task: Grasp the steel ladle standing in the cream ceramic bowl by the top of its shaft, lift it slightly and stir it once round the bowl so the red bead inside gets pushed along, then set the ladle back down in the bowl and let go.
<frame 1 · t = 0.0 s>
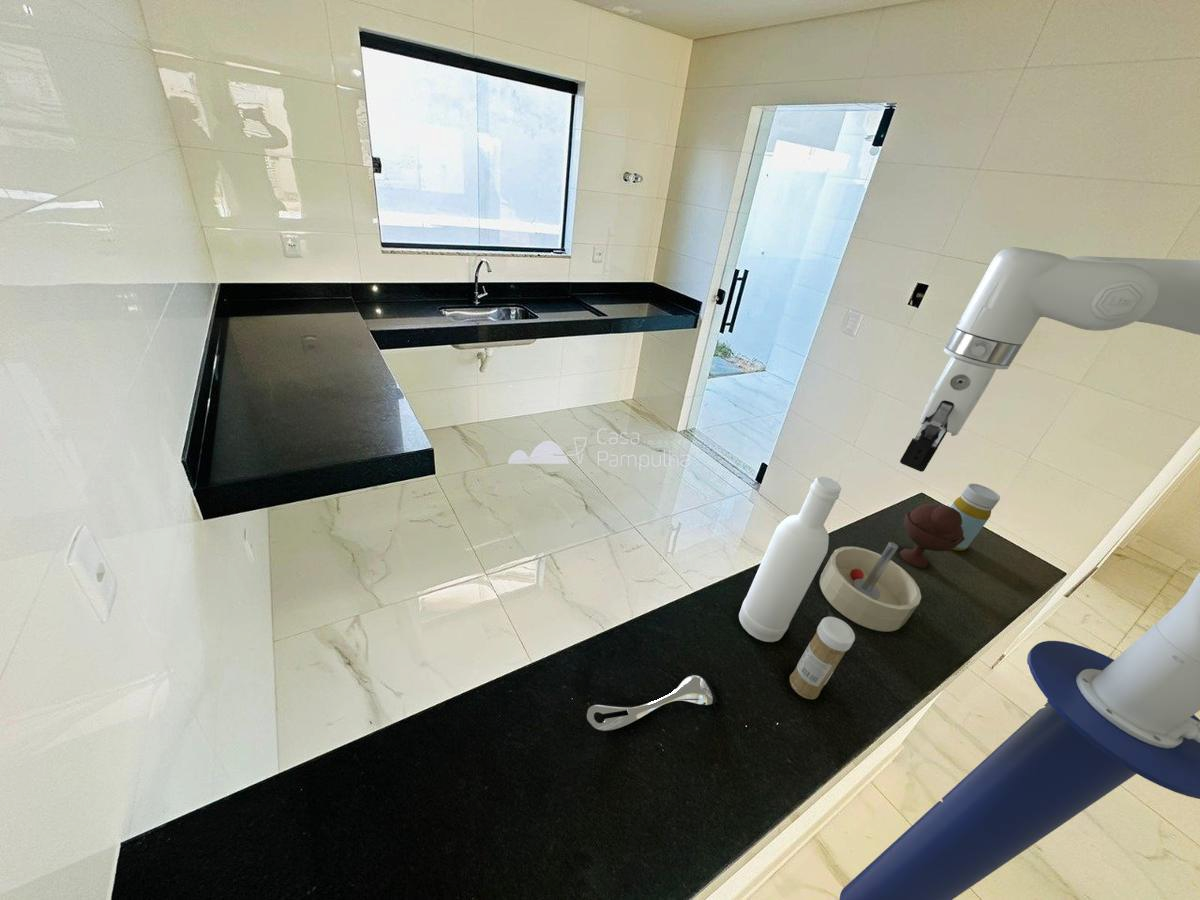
hand: (917, 456, 70), 33 cm above the countertop, tool pointing down, fingers open, 9 cm apart
mixing bowl: (861, 597, 89), on the countertop
bottle: (948, 542, 110), on the countertop
bottle 2: (760, 624, 80), on the countertop
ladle: (862, 595, 89), point 1 cm above the countertop, touching mixing bowl
ice cream scoop: (651, 709, 64), on the countertop
ice cream bowl: (912, 559, 103), on the countertop
bead: (857, 574, 92), point 2 cm above the countertop, touching mixing bowl
sprinkles bottle: (802, 686, 71), on the countertop
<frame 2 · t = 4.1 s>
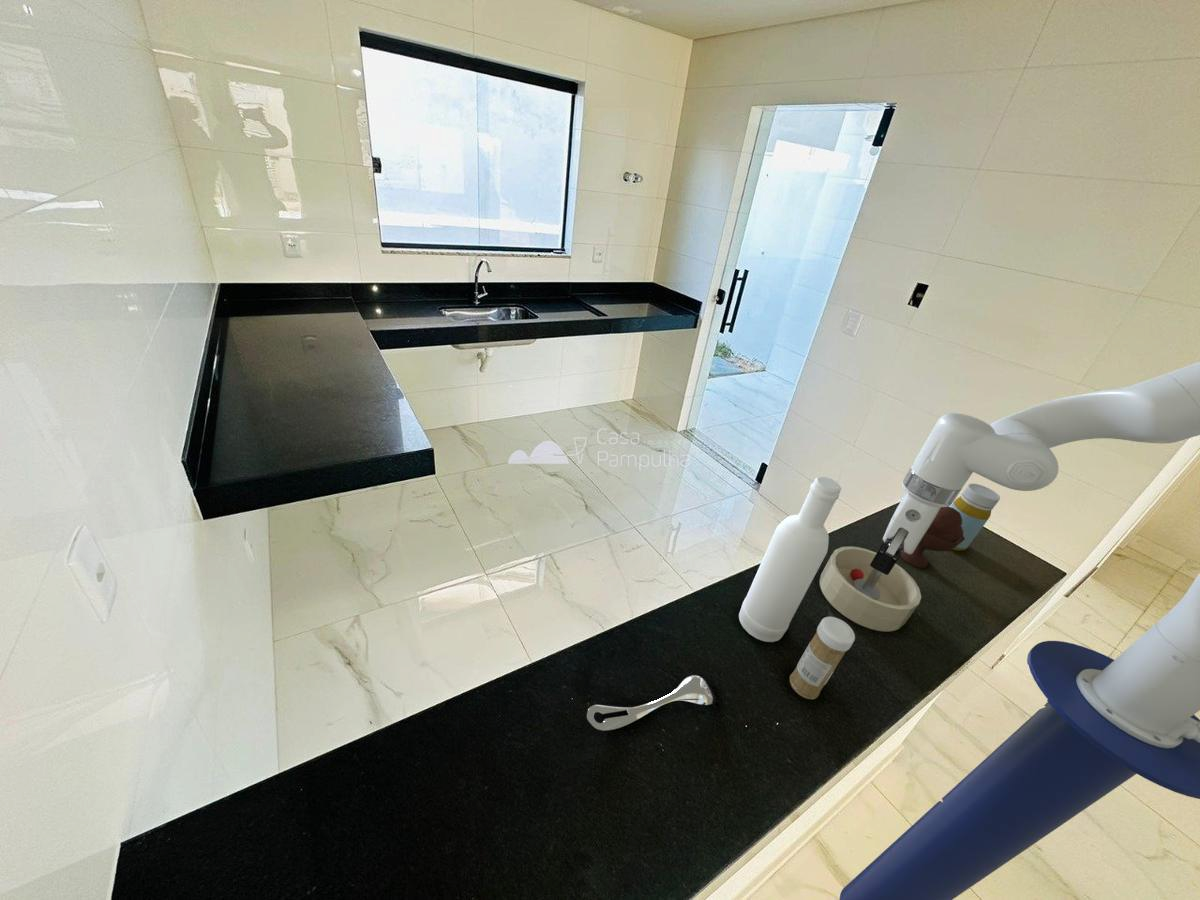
hand: (880, 566, 85), 8 cm above the countertop, tool pointing down, fingers closed on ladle
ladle: (862, 595, 89), point 1 cm above the countertop, touching gripper
everything else where it was.
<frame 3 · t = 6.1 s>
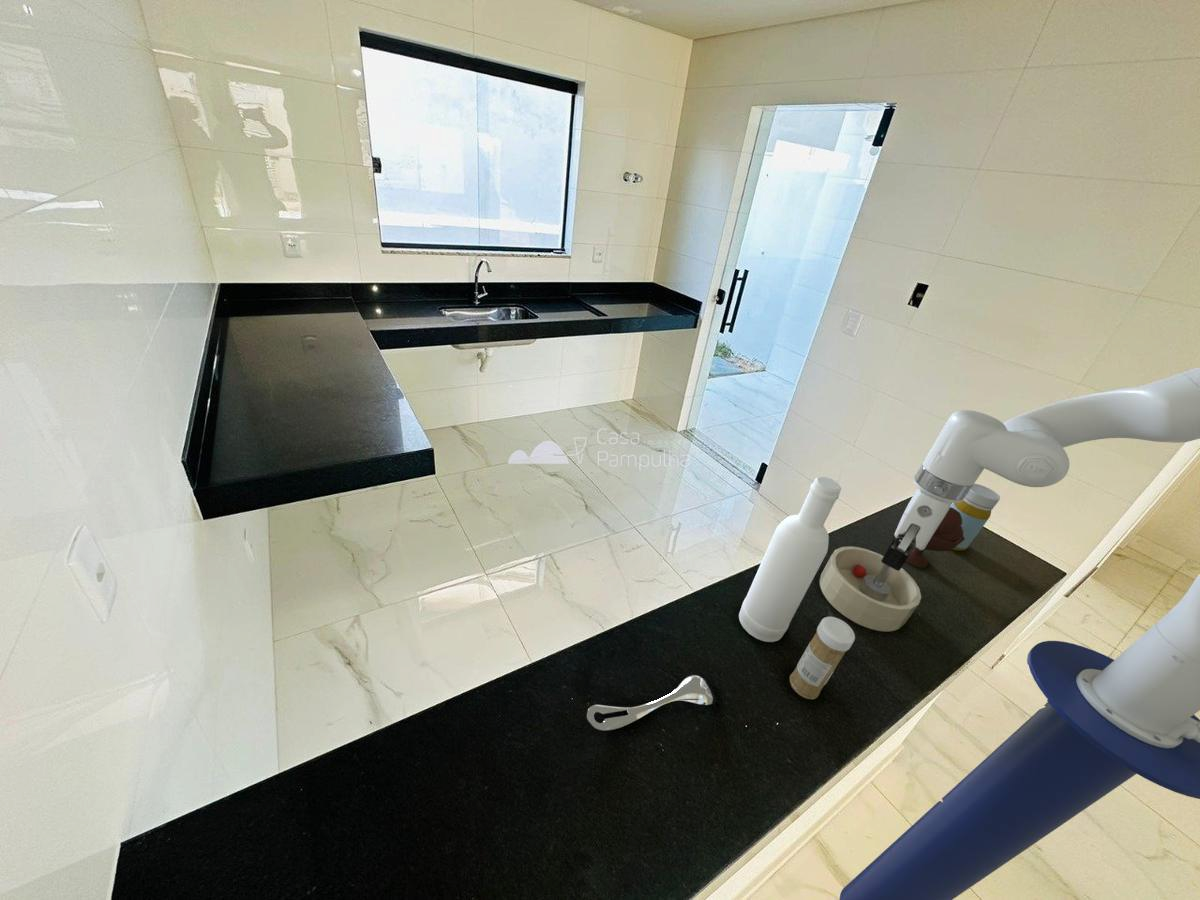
hand: (891, 562, 86), 9 cm above the countertop, tool pointing down, fingers closed on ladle
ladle: (873, 591, 90), point 1 cm above the countertop, touching gripper
bead: (859, 571, 93), point 2 cm above the countertop, tilted 65°, touching mixing bowl
everything else where it was.
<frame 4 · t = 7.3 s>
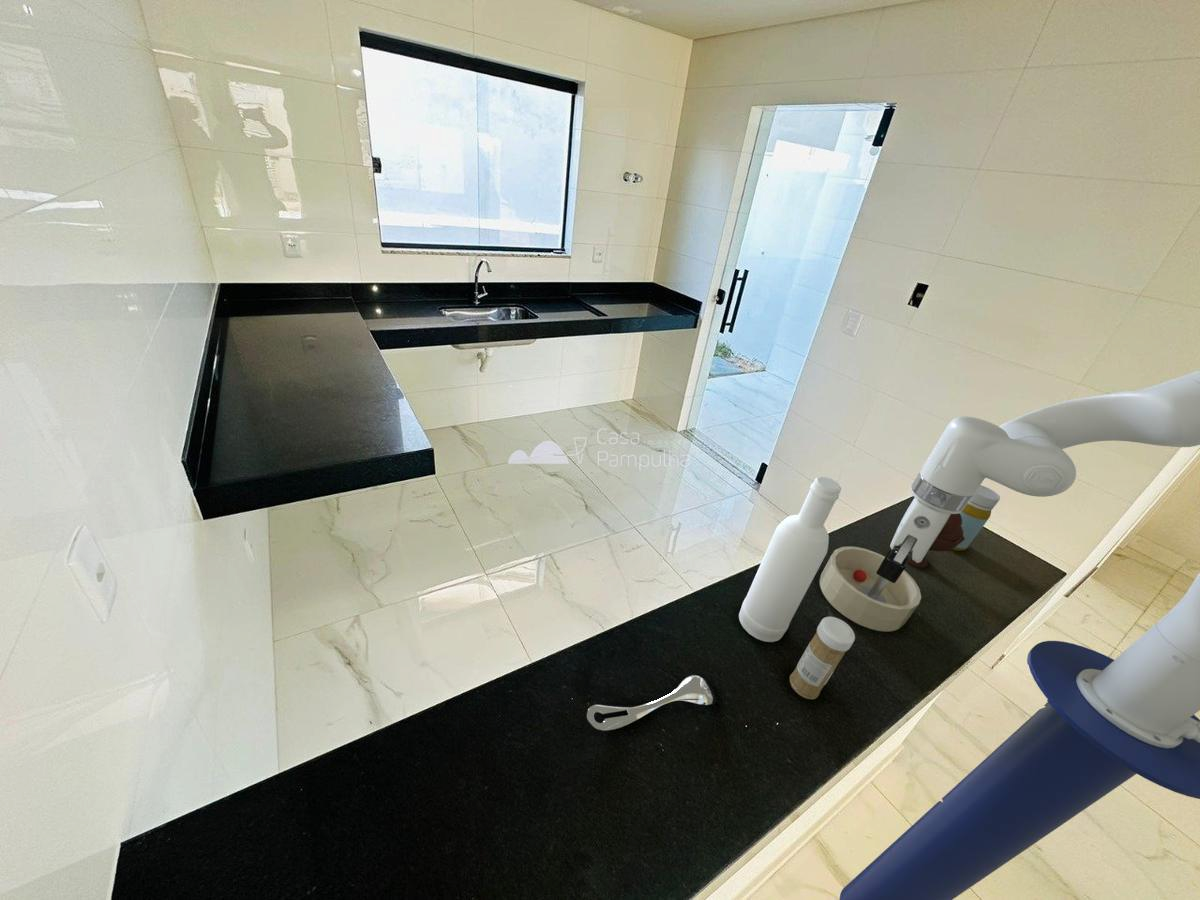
hand: (887, 574, 83), 9 cm above the countertop, tool pointing down, fingers closed on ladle
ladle: (867, 603, 87), point 1 cm above the countertop, touching gripper
bead: (860, 575, 92), point 2 cm above the countertop, tilted 69°, touching mixing bowl
everything else where it was.
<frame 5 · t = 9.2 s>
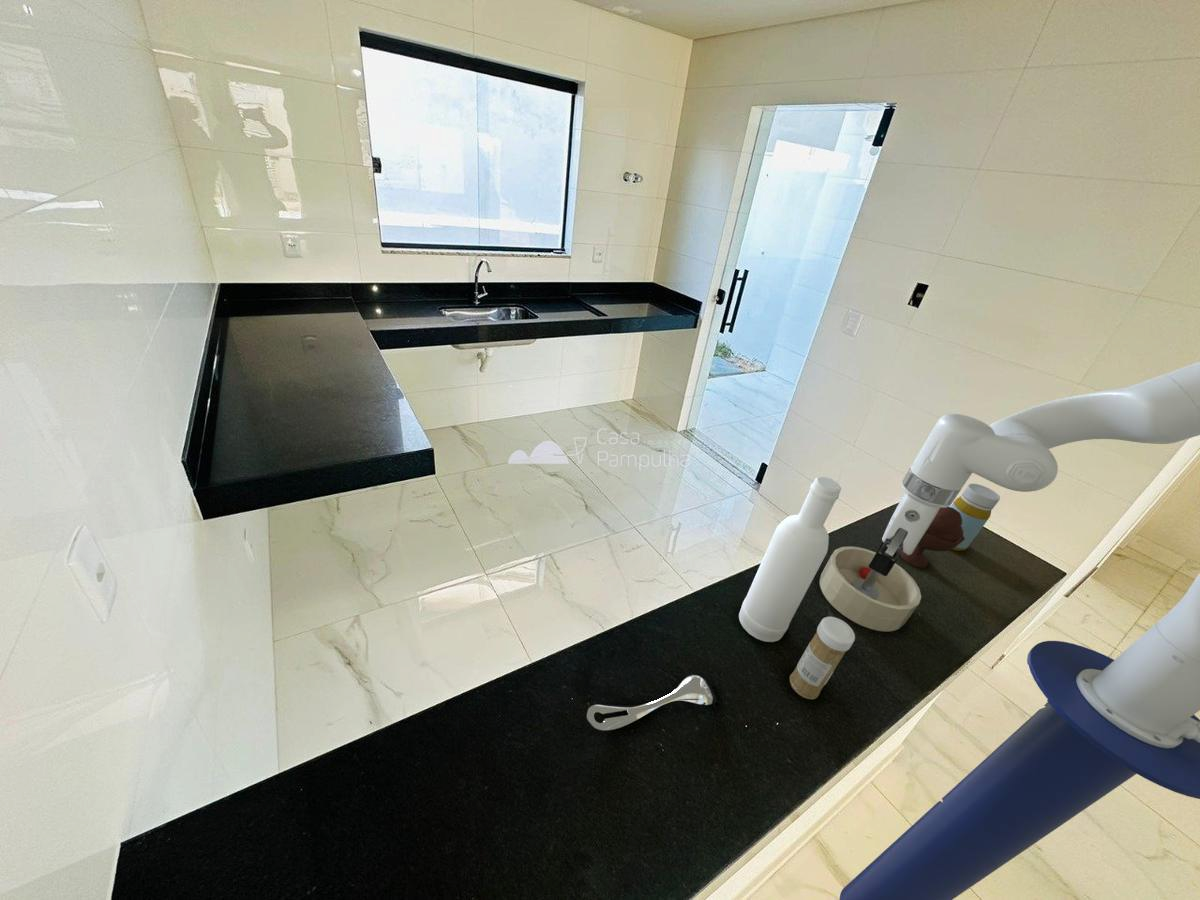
hand: (879, 566, 85), 8 cm above the countertop, tool pointing down, fingers closed
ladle: (861, 594, 89), point 1 cm above the countertop, touching mixing bowl
bead: (865, 573, 93), point 2 cm above the countertop, tilted 59°, touching mixing bowl
everything else where it was.
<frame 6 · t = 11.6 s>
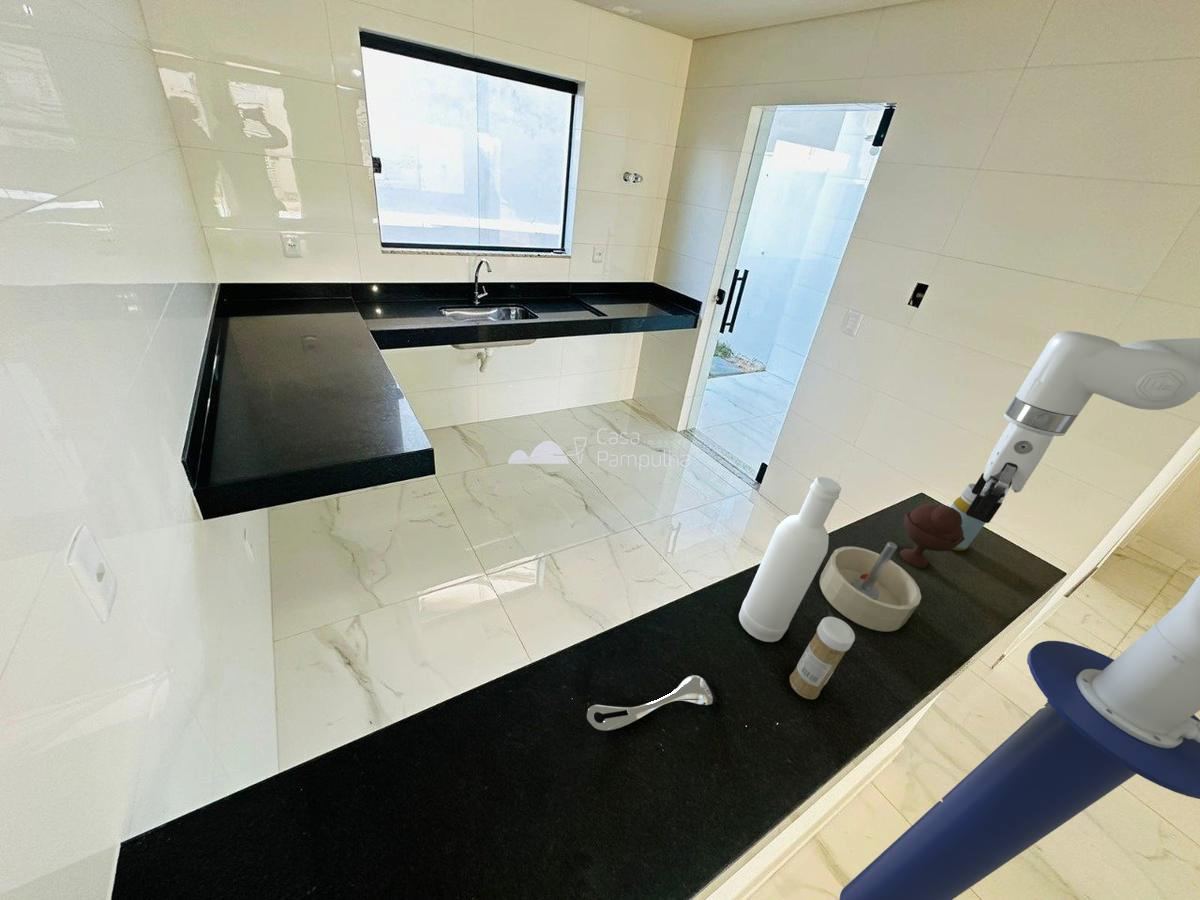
hand: (979, 506, 78), 24 cm above the countertop, tool pointing down, fingers open, 9 cm apart
bead: (866, 580, 91), point 2 cm above the countertop, tilted 50°, touching mixing bowl
everything else where it was.
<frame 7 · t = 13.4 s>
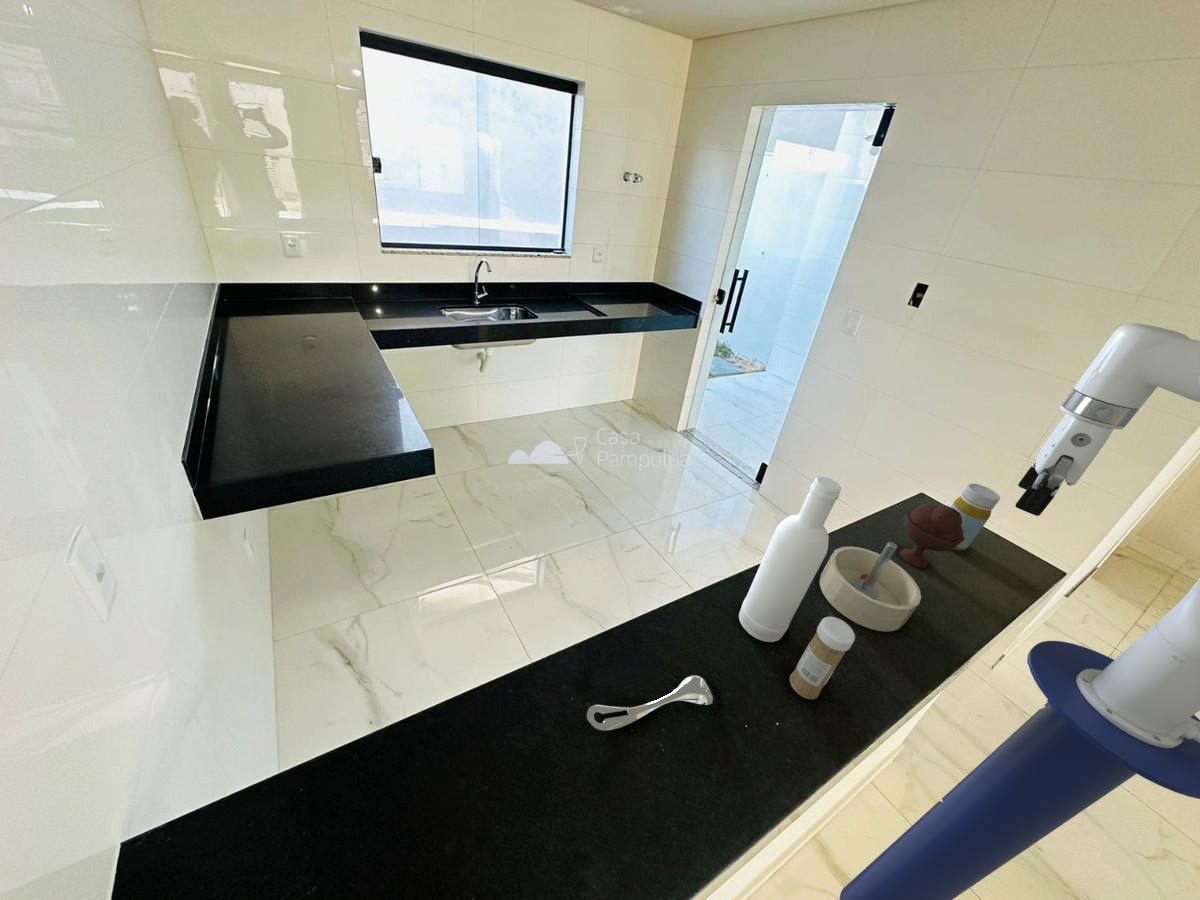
hand: (1027, 500, 78), 26 cm above the countertop, tool pointing down, fingers open, 9 cm apart
nothing on the countertop moved.
at the end: bead moved 1.8 cm from its start; bead inside the target area in the mixing bowl (3.7 cm from its centre), point 1.8 cm above the mixing bowl's base; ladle inside the target area in the mixing bowl (0.1 cm from its centre), point 0.6 cm above the mixing bowl's base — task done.
